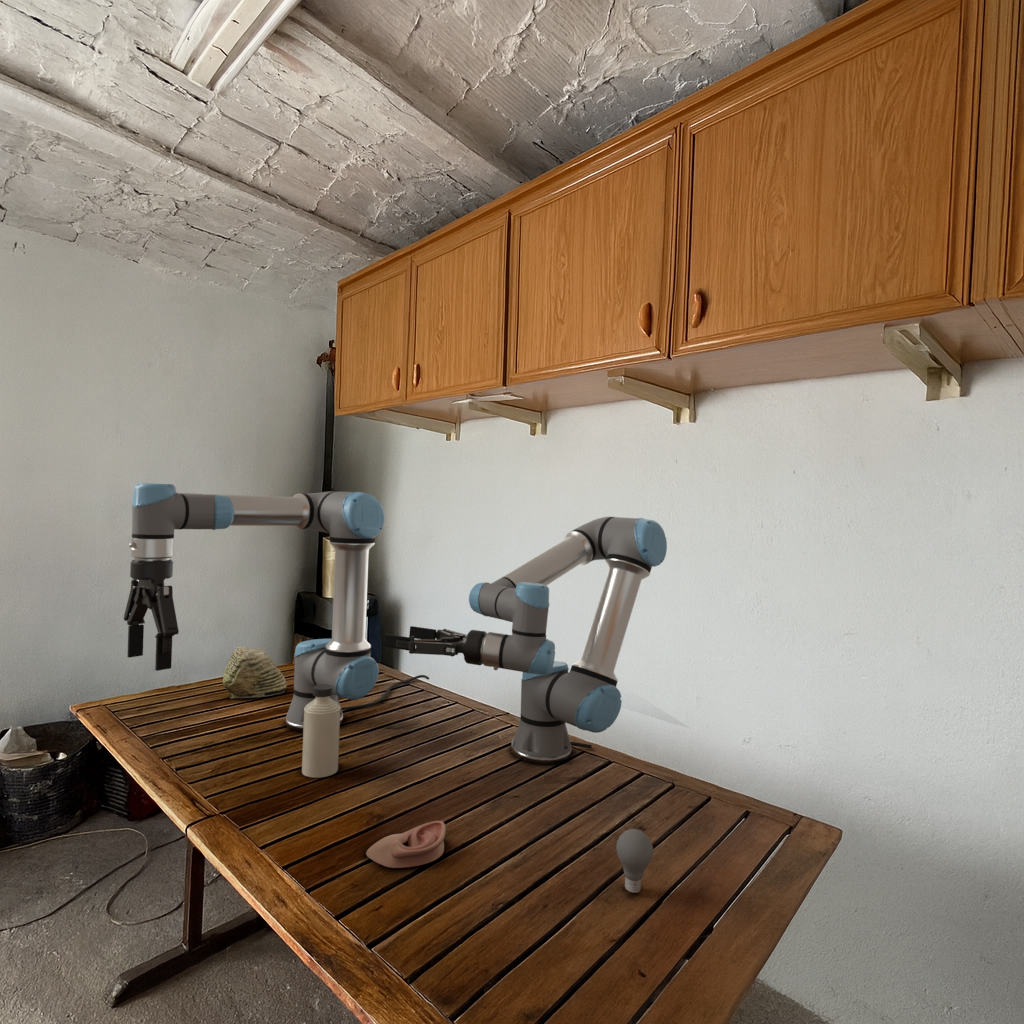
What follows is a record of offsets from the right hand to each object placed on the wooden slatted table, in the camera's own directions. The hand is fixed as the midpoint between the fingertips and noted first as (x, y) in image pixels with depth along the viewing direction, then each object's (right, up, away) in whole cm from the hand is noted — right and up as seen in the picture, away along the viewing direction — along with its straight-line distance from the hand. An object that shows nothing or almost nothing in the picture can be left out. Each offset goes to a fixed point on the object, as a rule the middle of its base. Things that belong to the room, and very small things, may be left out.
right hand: (397, 635), depth 147 cm
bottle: (-18, -31, 0) cm, 36 cm away
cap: (-17, -12, -1) cm, 21 cm away
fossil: (-54, -28, +51) cm, 80 cm away
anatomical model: (+7, -33, -32) cm, 47 cm away
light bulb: (+47, -35, -41) cm, 71 cm away
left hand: (-48, -2, -18) cm, 51 cm away
